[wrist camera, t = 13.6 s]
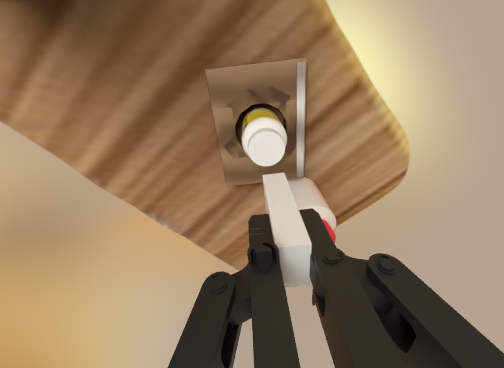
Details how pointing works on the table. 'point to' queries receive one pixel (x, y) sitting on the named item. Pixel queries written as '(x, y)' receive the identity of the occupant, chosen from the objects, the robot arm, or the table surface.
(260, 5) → the table surface
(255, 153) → the supplement bottle
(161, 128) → the table surface
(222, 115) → the jig
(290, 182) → the pill bottle
